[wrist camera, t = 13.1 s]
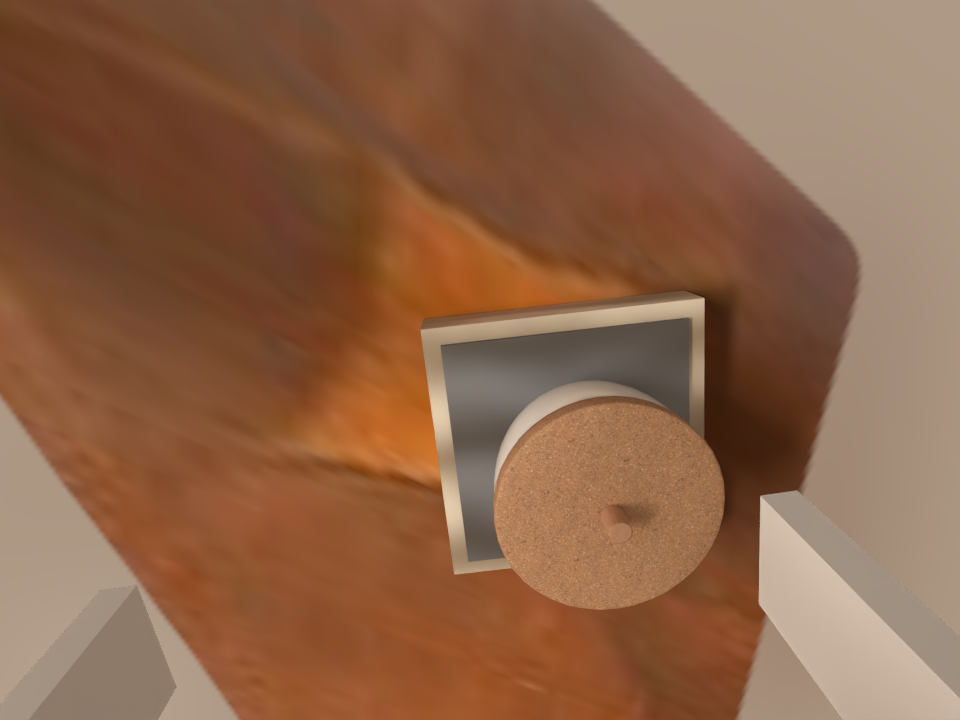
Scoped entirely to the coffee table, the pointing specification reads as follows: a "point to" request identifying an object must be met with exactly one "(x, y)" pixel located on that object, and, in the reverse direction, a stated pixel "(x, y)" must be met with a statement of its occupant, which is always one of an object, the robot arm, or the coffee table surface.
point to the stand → (545, 386)
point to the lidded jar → (604, 496)
